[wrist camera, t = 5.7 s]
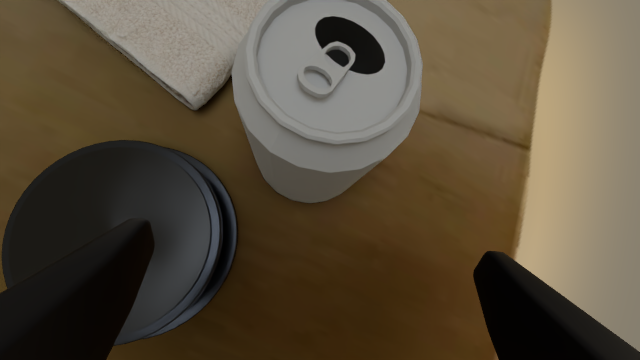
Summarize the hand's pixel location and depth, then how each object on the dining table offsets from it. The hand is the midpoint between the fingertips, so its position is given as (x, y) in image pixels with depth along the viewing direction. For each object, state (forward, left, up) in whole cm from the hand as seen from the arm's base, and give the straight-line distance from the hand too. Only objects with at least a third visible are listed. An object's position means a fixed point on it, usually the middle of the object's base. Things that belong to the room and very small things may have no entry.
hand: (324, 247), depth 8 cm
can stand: (+7, +7, -13) cm, 16 cm away
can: (+4, -5, -13) cm, 14 cm away
